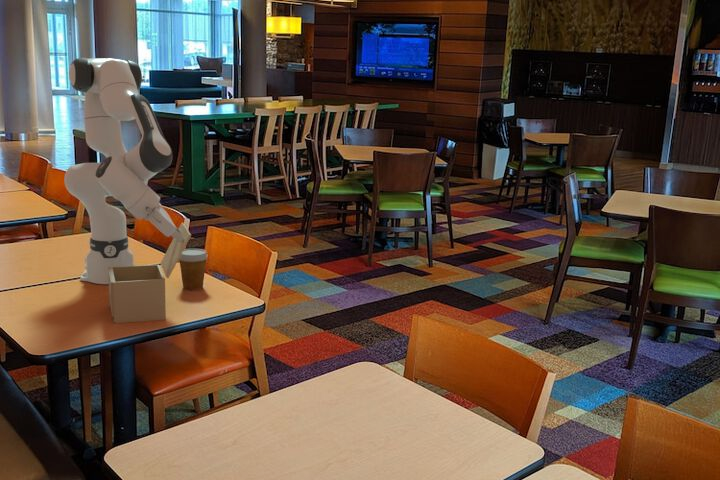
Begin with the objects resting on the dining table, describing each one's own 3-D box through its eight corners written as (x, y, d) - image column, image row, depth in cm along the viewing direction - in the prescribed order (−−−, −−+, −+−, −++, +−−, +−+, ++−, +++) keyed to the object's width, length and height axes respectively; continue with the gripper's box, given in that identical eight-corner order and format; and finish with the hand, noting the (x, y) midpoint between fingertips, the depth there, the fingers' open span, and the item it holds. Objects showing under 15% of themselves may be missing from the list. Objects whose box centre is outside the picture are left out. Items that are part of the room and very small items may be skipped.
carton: (109, 305, 225) (108, 267, 222) (159, 302, 230) (158, 264, 227) (112, 323, 210) (110, 282, 207) (165, 319, 215) (165, 279, 213)
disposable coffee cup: (193, 281, 252) (193, 246, 250) (213, 287, 247) (213, 251, 244) (171, 287, 245) (171, 251, 242) (192, 293, 239) (191, 257, 237)
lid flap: (181, 222, 226) (183, 223, 227) (160, 263, 227) (162, 264, 227) (189, 234, 212) (191, 235, 212) (166, 277, 213) (168, 278, 213)
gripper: (156, 203, 204) (193, 237, 210) (149, 190, 223) (183, 221, 229) (140, 220, 204) (177, 253, 210) (134, 205, 222) (168, 236, 228)
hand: (180, 236), depth 219 cm, fingers open, 8 cm apart
